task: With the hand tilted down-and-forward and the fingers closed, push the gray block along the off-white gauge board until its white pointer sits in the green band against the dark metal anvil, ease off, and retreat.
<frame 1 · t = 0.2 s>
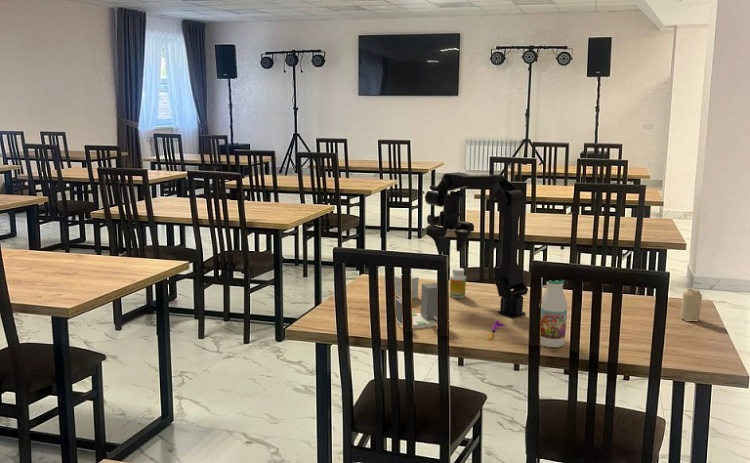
hand: (449, 253, 243), 15 cm above the table, tool pointing down, fingers open, 9 cm apart
gray block: (431, 301, 216), point 6 cm above the table, slide at 0.0 cm
supplement bottle: (457, 296, 244), on the table
candle: (689, 320, 224), on the table
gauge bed: (420, 322, 216), on the table
milk bottle: (550, 344, 200), on the table
product box: (405, 297, 242), on the table
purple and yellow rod: (495, 333, 209), on the table
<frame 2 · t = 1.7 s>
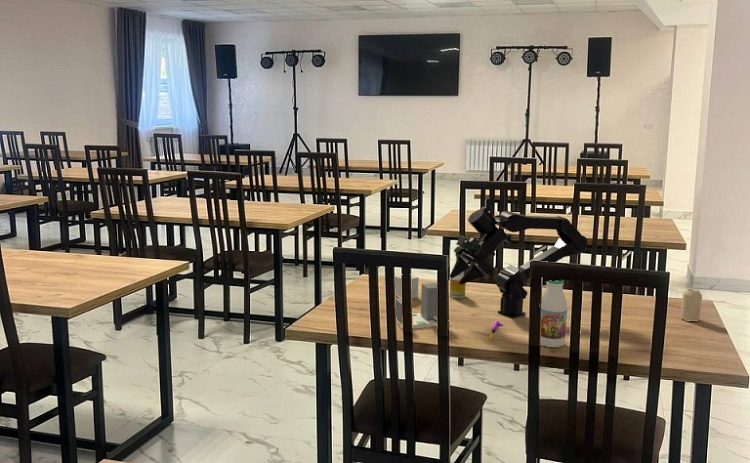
hand: (455, 280, 217), 13 cm above the table, tool tilted 45°, fingers open, 7 cm apart
nothing on the table moved.
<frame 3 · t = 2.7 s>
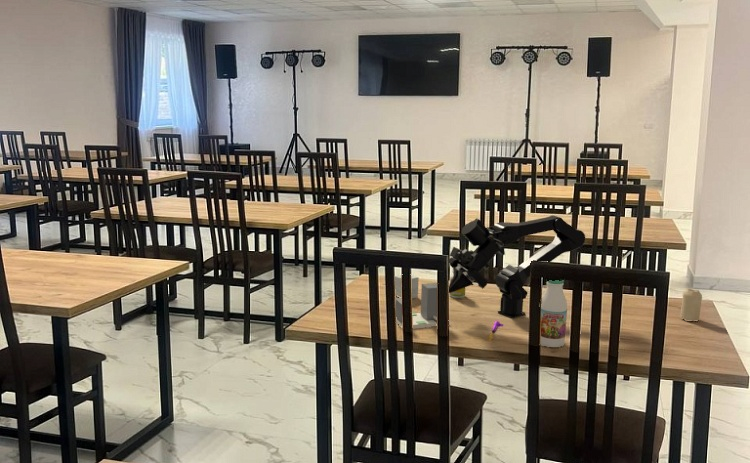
hand: (448, 291, 217), 9 cm above the table, tool tilted 45°, fingers closed
nothing on the table moved.
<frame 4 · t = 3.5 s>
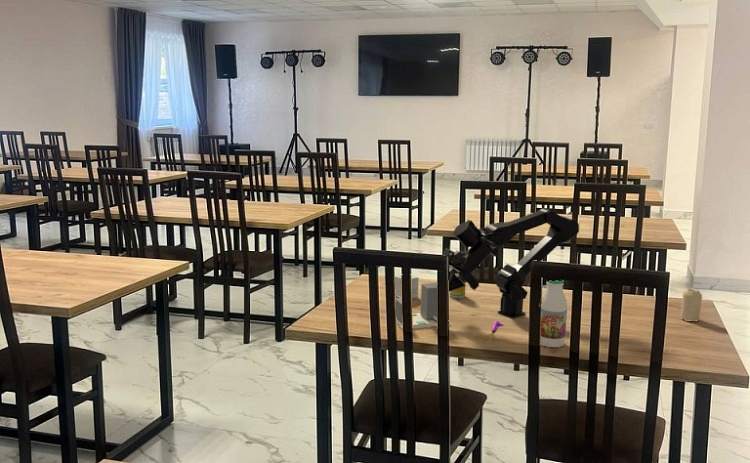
hand: (439, 293, 216), 9 cm above the table, tool tilted 45°, fingers closed, pressing on gray block
gray block: (431, 301, 216), point 7 cm above the table, slide at 0.1 cm, touching gripper
everything else where it was.
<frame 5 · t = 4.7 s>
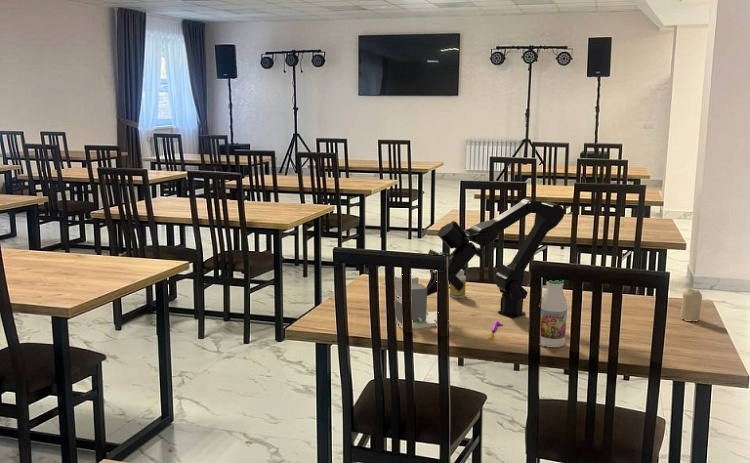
hand: (424, 295, 215), 9 cm above the table, tool tilted 45°, fingers closed
gray block: (416, 302, 214), point 6 cm above the table, slide at 5.2 cm
everything else where it was.
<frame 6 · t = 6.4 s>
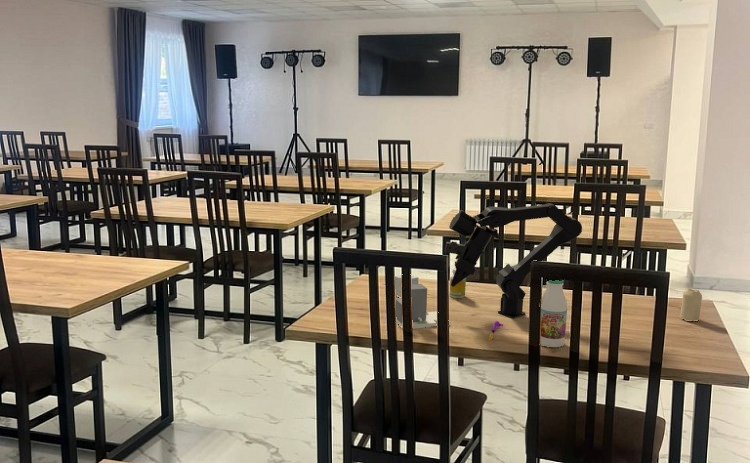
hand: (451, 285, 222), 10 cm above the table, tool tilted 30°, fingers closed
nothing on the table moved.
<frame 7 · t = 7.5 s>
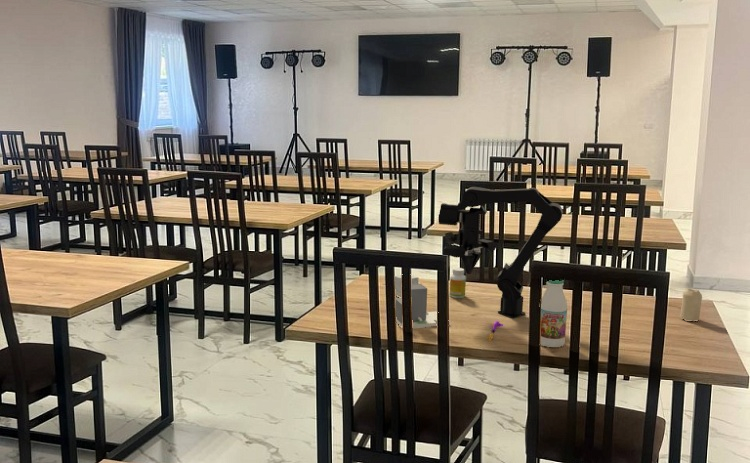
hand: (468, 273, 227), 12 cm above the table, tool pointing down, fingers closed
nothing on the table moved.
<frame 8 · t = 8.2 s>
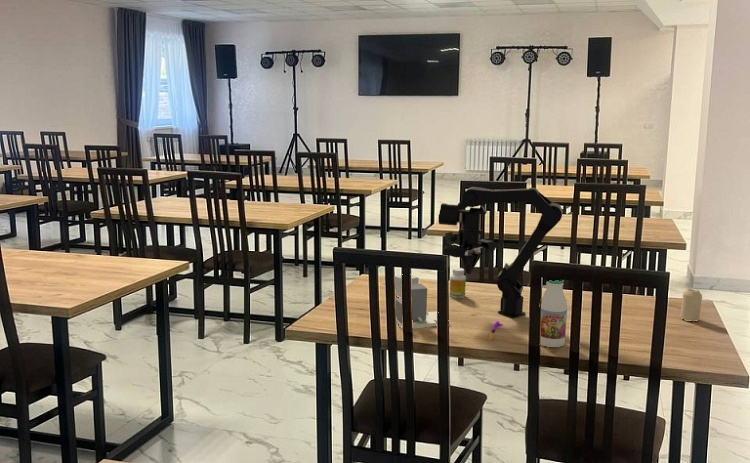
hand: (468, 273, 227), 12 cm above the table, tool pointing down, fingers closed
nothing on the table moved.
at the end: gray block slide at 5.2 cm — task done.
